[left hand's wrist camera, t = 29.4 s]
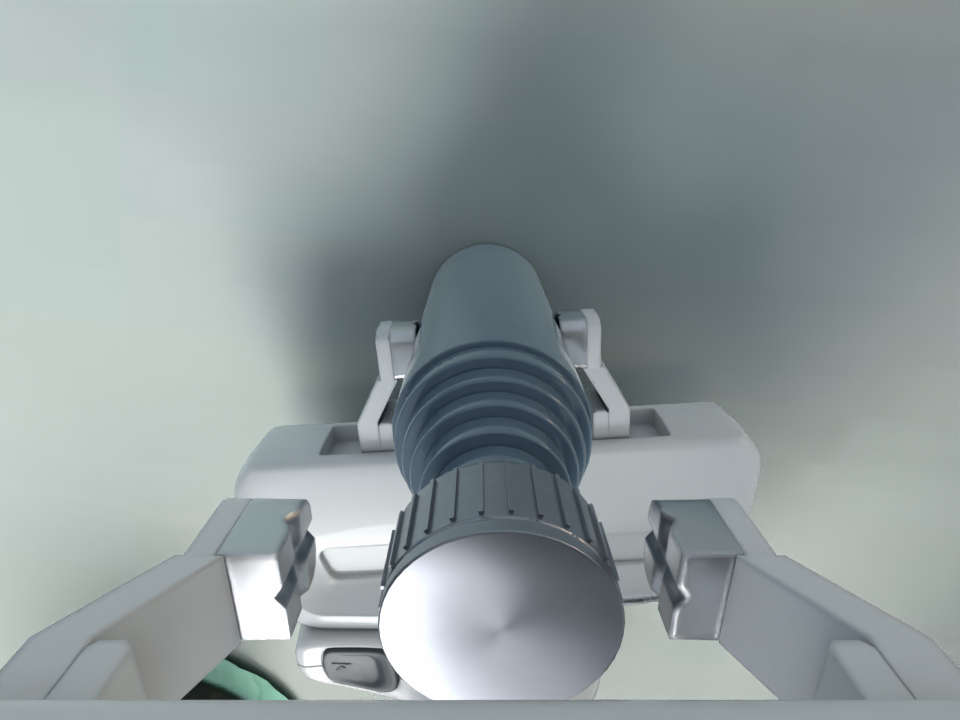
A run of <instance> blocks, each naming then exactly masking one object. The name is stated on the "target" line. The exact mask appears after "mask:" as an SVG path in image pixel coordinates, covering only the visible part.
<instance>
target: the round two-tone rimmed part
mask: <svg viewBox="0 0 960 720" xmlns="http://www.w3.org/2000/svg"><path fill="white" fill-rule="evenodd" d="M181 700H288V699H287V698H286V697H285V696H284V695H282V694H281V693H280V692H278V691H277V690H276V689H274V688H273V687H272V685H271V684H270V683H269V682H268V681H266V680H265V679H263V678H261V677H259V676H258V675H255V674H253V673H251V672H249V671H246V670H243V669H240V668H239V667H237V666H236V665H234V664H233V663H231V662H229V661H227V660H225V659H224V660H222V661H221V662H220V663H219V664H218V665H217V666H216V667H215V668H214V669H213V670H212V671H211V672H210V673H208V674H207V675H206V676H205V677H204V678H203V679H202V680H201V681H200V682H199V683H198V684H197V685H196V686H195V687H193V688H192V689H191V690H190V691H189V692H188V693H187V694H186V695H185V696H184V697H183V698H182V699H181Z"/></svg>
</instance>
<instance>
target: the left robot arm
mask: <svg viewBox="0 0 960 720" xmlns="http://www.w3.org/2000/svg"><path fill="white" fill-rule="evenodd" d="M311 520H312V513H311V507H310V503H309V502H308V501H307V500H306V499H267V498H255V499H252V498H228V499H225V500H223V501H222V502H221V503H220V505H219V506H218V507H217V509H216V510H215V512H214V513H213V514H212V516H211V517H210V519H209V520H208V521H207V523H206V524H205V526H204V527H203V528H202V530H201V531H200V533H199V534H198V535H197V537H196V538H195V540H194V541H193V542H192V544H191V545H190V547H189V548H188V549H187V551H186V552H185V554H184V555H181V556H173V557H171V558H170V559H168V560H166V561H164V562H162V563H161V564H159V565H157V566H155V567H154V568H152V569H150V570H148V571H147V572H145V573H143V574H141V575H140V576H138V577H136V578H134V579H132V580H131V581H129V582H127V583H125V584H124V585H122V586H120V587H118V588H117V589H115V590H113V591H111V592H109V593H108V594H106V595H104V596H102V597H101V598H99V599H97V600H95V601H94V602H92V603H90V604H88V605H86V606H85V607H83V608H81V609H79V610H78V611H76V612H74V613H72V614H71V615H69V616H67V617H65V618H63V619H62V620H60V621H58V622H56V623H55V624H53V625H51V626H49V627H48V628H46V629H44V630H42V631H40V632H39V633H37V634H35V635H33V636H32V637H30V638H29V639H28V640H27V641H26V642H25V643H24V644H23V646H22V647H21V648H20V649H19V650H18V651H17V652H16V653H15V654H14V656H13V657H12V658H11V659H10V660H9V661H8V662H7V663H6V664H5V666H4V667H3V668H2V669H1V670H0V720H960V670H959V669H958V668H957V666H956V665H955V664H954V663H953V662H952V661H951V660H950V659H949V657H948V656H947V655H946V654H945V653H944V652H943V651H942V650H941V649H940V647H939V646H938V645H937V644H936V643H935V642H934V641H933V640H932V639H931V638H930V637H928V636H926V635H924V634H923V633H921V632H919V631H917V630H916V629H914V628H912V627H910V626H909V625H907V624H905V623H903V622H901V621H900V620H898V619H896V618H894V617H893V616H891V615H889V614H887V613H886V612H884V611H882V610H880V609H879V608H877V607H875V606H873V605H872V604H870V603H868V602H866V601H864V600H863V599H861V598H859V597H857V596H856V595H854V594H852V593H850V592H849V591H847V590H845V589H843V588H842V587H840V586H838V585H836V584H834V583H833V582H831V581H829V580H827V579H826V578H824V577H822V576H820V575H819V574H817V573H815V572H813V571H812V570H810V569H808V568H806V567H805V566H803V565H801V564H799V563H797V562H796V561H794V560H792V559H790V558H789V557H787V556H779V555H776V554H775V552H774V551H773V550H772V548H771V547H770V545H769V544H768V543H767V541H766V540H765V538H764V537H763V536H762V534H761V533H760V531H759V530H758V529H757V527H756V526H755V524H754V523H753V522H752V520H751V519H750V518H749V516H748V515H747V513H746V512H745V511H744V509H743V508H742V506H741V505H740V504H739V502H738V501H737V500H735V499H733V498H710V499H692V500H652V501H651V504H650V506H649V512H648V520H649V523H650V525H651V527H652V531H651V532H650V533H649V534H648V535H647V536H646V537H645V543H644V568H645V572H646V577H647V580H648V583H649V586H650V589H651V590H652V591H653V592H655V593H656V594H657V595H658V596H660V598H659V605H658V610H659V613H660V615H661V618H662V620H663V623H664V626H665V628H666V631H667V633H668V636H669V639H691V640H719V643H720V644H721V645H722V646H723V647H724V648H725V649H726V650H727V651H728V652H729V653H730V654H731V655H732V656H734V657H735V658H736V659H737V660H738V661H739V662H740V663H741V664H742V665H743V666H744V667H745V668H746V669H747V670H749V671H750V672H751V673H752V674H753V675H754V676H755V677H756V678H757V679H758V680H759V681H760V682H761V683H762V684H763V685H765V686H766V687H767V688H768V689H769V690H770V691H771V692H772V693H773V694H774V695H775V696H776V697H777V698H778V699H780V700H181V699H182V698H183V697H184V696H185V695H186V694H187V693H188V692H189V691H190V690H191V689H192V688H193V687H195V686H196V685H197V684H198V683H199V682H200V681H201V680H202V679H203V678H204V677H205V676H206V675H207V674H208V673H210V672H211V671H212V670H213V669H214V668H215V667H216V666H217V665H218V664H219V663H220V662H221V661H222V660H224V659H225V658H226V657H227V656H228V655H229V654H230V653H231V652H232V651H233V650H234V649H235V648H236V647H237V646H239V645H240V644H241V640H268V639H291V636H292V634H293V631H294V628H295V626H296V623H297V620H298V618H299V615H300V613H301V610H302V605H301V598H300V596H302V595H303V594H304V593H305V592H307V591H308V590H309V589H310V586H311V583H312V580H313V577H314V572H315V566H316V542H315V537H314V536H313V535H312V534H311V533H310V532H309V531H308V527H309V525H310V523H311Z"/></svg>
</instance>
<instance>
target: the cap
mask: <svg viewBox="0 0 960 720" xmlns="http://www.w3.org/2000/svg"><path fill="white" fill-rule="evenodd" d="M618 581H620V579H619V576H618V573H617V569H616V566H615V563H614V560H613V557H612V553H611V550H610V547H609V544H608V541H607V537H606V534H605V531H604V528H603V525H602V522H598V519H597V515H596V512H595V509H594V506H593V504H592V503H590V504H588V502H587V501H586V500H585V499H584V498H583V496H582V495H581V494H580V491H579V488H577V487H574V488H573V487H572V486H571V485H570V484H568V483H567V482H565V481H564V480H563V479H561V478H560V476H559V475H558V474H556V473H555V475H553V474H551V473H549V472H547V471H545V470H542V469H539V468H537V467H536V465H532V464H531V465H528V464H524V463H513V462H510V461H507V460H505V462H489V461H487V462H483V461H481V462H478V463H477V464H473V465H469V466H464V467H461V468H457V467H456V468H453V470H452V471H449V472H448V473H445V474H444V475H442V476H440V477H438V478H437V479H434V478H433V479H431V480H430V483H429V484H428V485H427V486H425V487H424V488H423V489H422V490H420V491H419V492H418V493H417V494H416V493H414V494H413V495H412V498H411V501H410V503H409V504H408V505H407V507H406V508H405V510H404V511H402V510H401V511H400V512H399V516H398V520H397V525H396V530H392V534H391V538H390V543H389V548H388V552H387V557H386V561H385V566H384V571H383V575H382V580H381V585H380V589H382V591H381V596H380V601H379V606H378V611H379V615H378V631H379V638H380V641H381V645H382V649H383V651H384V653H385V655H386V657H387V659H388V661H389V663H390V664H391V666H392V667H393V669H394V670H395V671H396V672H397V674H398V675H399V676H400V677H401V678H402V679H403V680H404V681H405V682H406V683H407V684H409V685H410V686H411V687H412V688H413V689H415V690H416V691H418V692H419V693H421V694H422V695H424V696H426V697H428V698H429V699H431V700H568V699H570V698H572V697H574V696H576V695H578V694H579V693H581V692H582V691H584V690H585V689H586V688H588V687H589V686H590V685H592V684H593V683H594V682H595V681H596V680H597V679H599V678H600V676H601V675H602V674H603V673H604V672H605V671H606V670H607V669H608V667H609V666H610V664H611V663H612V661H613V660H614V658H615V656H616V654H617V652H618V650H619V648H620V645H621V641H622V638H623V634H624V626H625V615H624V607H623V603H622V602H623V597H622V594H621V591H620V588H619V584H618Z"/></svg>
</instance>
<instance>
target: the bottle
mask: <svg viewBox="0 0 960 720" xmlns="http://www.w3.org/2000/svg"><path fill="white" fill-rule="evenodd" d="M592 429H593V423H592V413H591V409H590V405H589V401H588V399H587V396H586V394H585V391H584V389H583V386H582V384H581V381H580V379H579V376H578V374H577V371H576V369H575V367H574V364H573V362H572V359H571V357H570V354H569V352H568V349H567V347H566V344H565V342H564V339H563V337H562V334H561V332H560V329H559V327H558V324H557V322H556V319H555V317H554V314H553V312H552V309H551V307H550V305H549V302H548V300H547V297H546V295H545V292H544V290H543V287H542V285H541V282H540V280H539V277H538V275H537V273H536V271H535V270H534V268H533V267H532V266H531V264H530V263H529V262H528V261H527V260H526V259H525V258H524V257H522V256H521V255H520V254H518V253H517V252H515V251H513V250H511V249H509V248H506V247H503V246H499V245H493V244H480V245H474V246H470V247H467V248H465V249H462V250H460V251H458V252H457V253H455V254H454V255H452V256H451V257H450V258H448V259H447V260H446V261H445V262H444V264H443V265H442V266H441V267H440V269H439V270H438V272H437V274H436V276H435V278H434V280H433V283H432V286H431V289H430V293H429V296H428V299H427V303H426V306H425V309H424V313H423V316H422V319H421V323H420V326H419V329H418V333H417V336H416V339H415V343H414V346H413V349H412V353H411V356H410V359H409V363H408V366H407V369H406V373H405V376H404V379H403V382H402V386H401V389H400V392H399V396H398V399H397V402H396V406H395V410H394V415H393V425H392V432H393V441H394V449H395V456H396V460H397V464H398V467H399V470H400V472H401V475H402V476H403V478H404V480H405V482H406V484H407V485H408V488H409V489H410V491H411V493H412V495H413V494H414V493H416V494H417V493H418V492H419V491H420V490H422V489H423V488H424V487H425V486H427V485H428V484H429V483H430V480H431V479H433V478H434V479H437V478H438V477H440V476H442V475H444V474H445V473H448V472H449V471H452V470H453V468H456V467H457V468H461V467H464V466H469V465H473V464H477V463H478V462H481V461H483V462H487V461H489V462H505V460H507V461H510V462H513V463H524V464H528V465H531V464H532V465H536V467H537V468H539V469H542V470H545V471H547V472H549V473H551V474H553V475H555V473H556V474H558V475H559V476H560V478H561V479H563V480H564V481H565V482H567V483H568V484H570V485H571V486H572V487H573V488H574V487H577V488H578V487H579V485H580V483H581V480H582V477H583V475H584V473H585V471H586V468H587V466H588V463H589V460H590V455H591V450H592Z"/></svg>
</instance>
